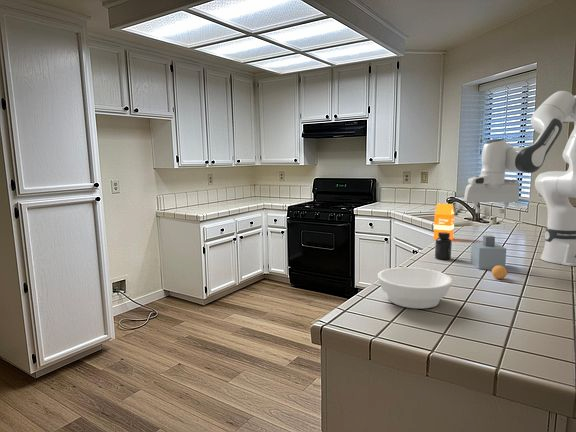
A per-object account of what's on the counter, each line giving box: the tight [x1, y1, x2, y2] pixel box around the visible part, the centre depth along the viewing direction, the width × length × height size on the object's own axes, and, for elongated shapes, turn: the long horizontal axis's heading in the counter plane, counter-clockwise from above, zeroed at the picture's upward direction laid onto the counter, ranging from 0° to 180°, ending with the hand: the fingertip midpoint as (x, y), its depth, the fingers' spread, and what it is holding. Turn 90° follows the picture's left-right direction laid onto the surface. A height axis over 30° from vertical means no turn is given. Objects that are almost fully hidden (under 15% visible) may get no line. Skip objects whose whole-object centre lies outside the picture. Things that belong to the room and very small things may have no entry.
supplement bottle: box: [434, 232, 453, 261], centre depth 179 cm, size 7×7×12 cm
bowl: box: [377, 266, 453, 309], centre depth 126 cm, size 22×22×8 cm
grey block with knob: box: [470, 234, 507, 270], centre depth 165 cm, size 10×10×13 cm
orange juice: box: [433, 203, 455, 241], centre depth 222 cm, size 8×9×20 cm
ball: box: [491, 266, 508, 280], centre depth 148 cm, size 5×5×5 cm
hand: (490, 213), depth 163 cm, fingers open, 8 cm apart
